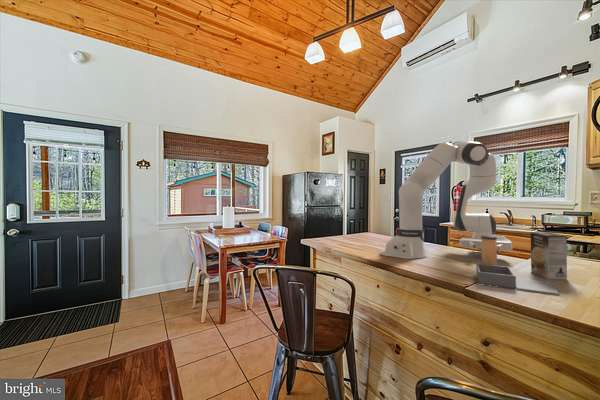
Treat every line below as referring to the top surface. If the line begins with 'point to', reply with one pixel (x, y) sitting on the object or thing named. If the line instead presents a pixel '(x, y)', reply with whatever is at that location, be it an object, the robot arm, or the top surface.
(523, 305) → the top surface
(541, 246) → the coffee box
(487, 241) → the lidded coffee cup
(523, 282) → the mailer box
